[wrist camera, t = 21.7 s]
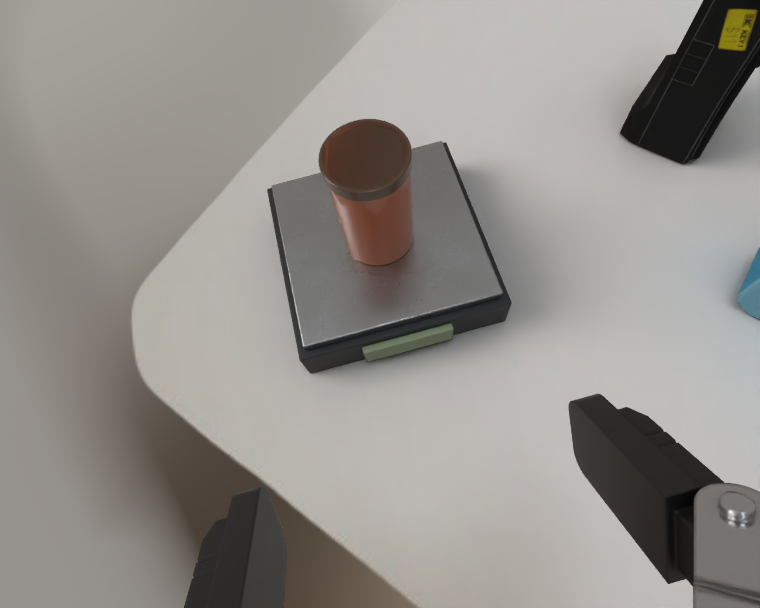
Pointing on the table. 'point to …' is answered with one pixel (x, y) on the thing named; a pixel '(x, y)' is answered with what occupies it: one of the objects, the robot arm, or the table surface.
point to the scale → (401, 335)
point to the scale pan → (390, 281)
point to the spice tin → (370, 188)
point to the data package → (751, 289)
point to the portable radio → (697, 81)
